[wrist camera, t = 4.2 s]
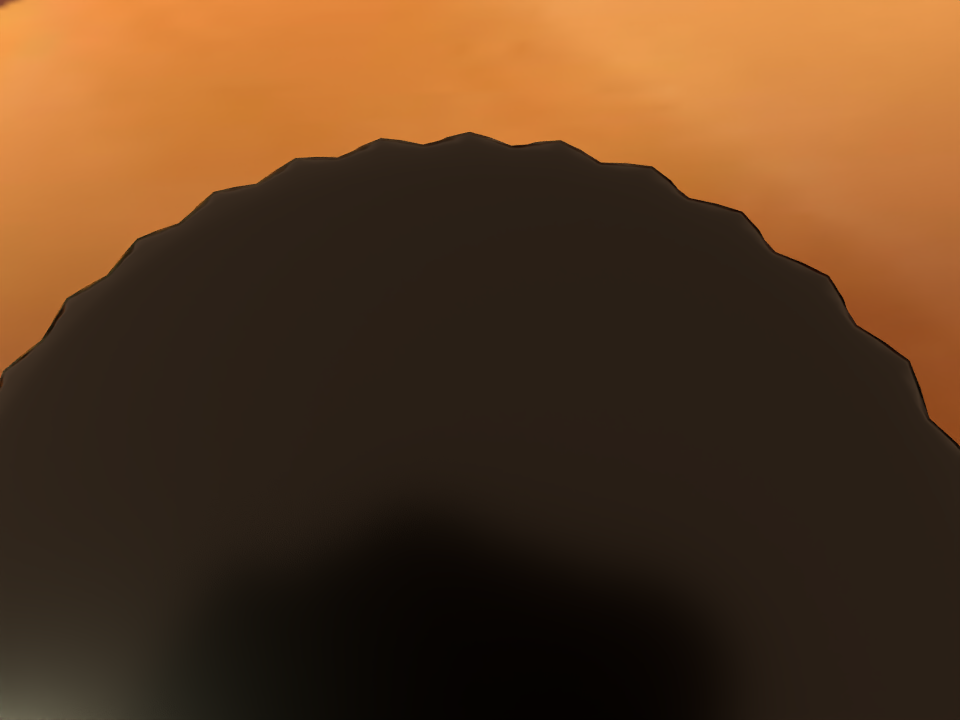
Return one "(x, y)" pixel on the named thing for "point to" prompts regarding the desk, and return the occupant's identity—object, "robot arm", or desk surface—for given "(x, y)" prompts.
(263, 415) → the supplement bottle
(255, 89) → the desk surface
